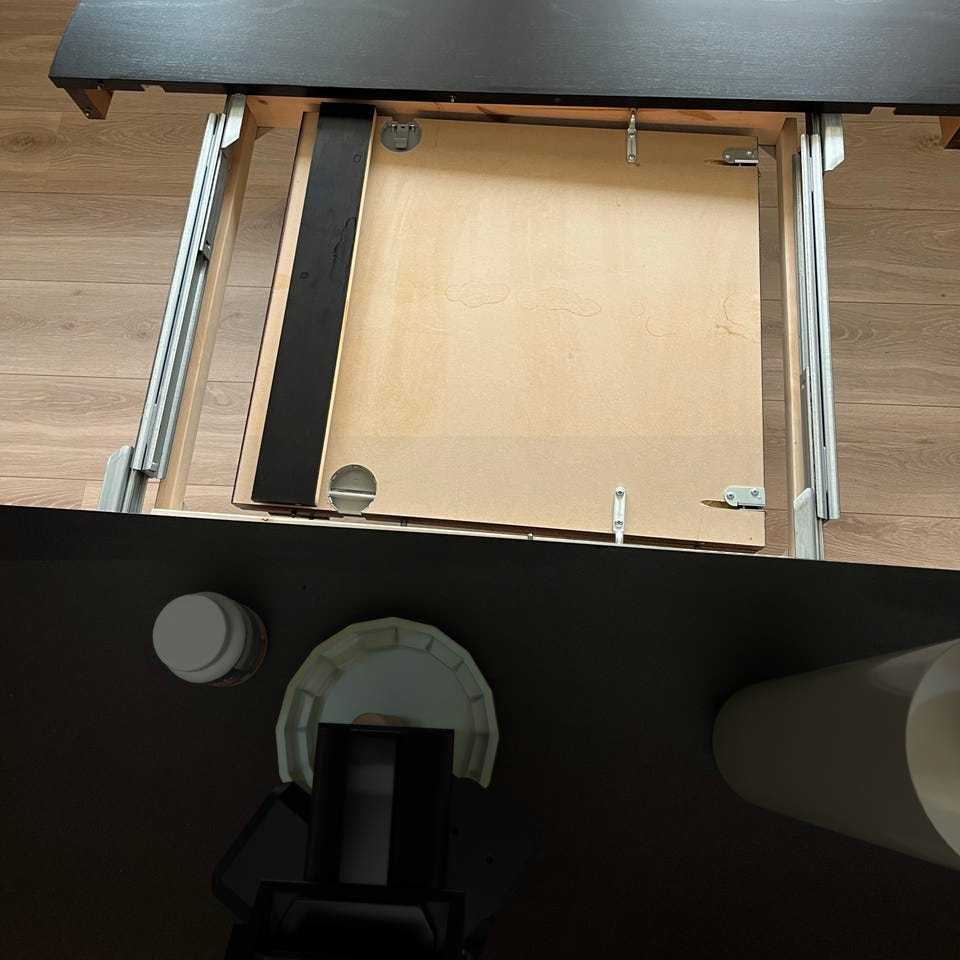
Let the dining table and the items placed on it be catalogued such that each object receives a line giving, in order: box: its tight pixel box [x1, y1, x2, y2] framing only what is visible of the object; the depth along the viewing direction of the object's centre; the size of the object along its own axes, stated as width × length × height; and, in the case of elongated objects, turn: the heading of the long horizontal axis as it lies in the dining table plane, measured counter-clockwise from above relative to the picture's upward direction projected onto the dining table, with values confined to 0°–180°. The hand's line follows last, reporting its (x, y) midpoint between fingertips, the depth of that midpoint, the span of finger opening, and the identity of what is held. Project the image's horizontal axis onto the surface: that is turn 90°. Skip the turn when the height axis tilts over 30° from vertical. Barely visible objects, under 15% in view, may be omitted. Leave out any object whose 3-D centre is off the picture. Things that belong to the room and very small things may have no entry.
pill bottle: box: [152, 591, 268, 687], centre depth 71 cm, size 6×6×10 cm
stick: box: [351, 713, 410, 727], centre depth 66 cm, size 2×2×12 cm
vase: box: [711, 636, 960, 873], centre depth 50 cm, size 8×8×46 cm
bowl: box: [274, 616, 502, 790], centre depth 70 cm, size 14×14×5 cm
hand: (415, 926), depth 58 cm, fingers open, 9 cm apart
